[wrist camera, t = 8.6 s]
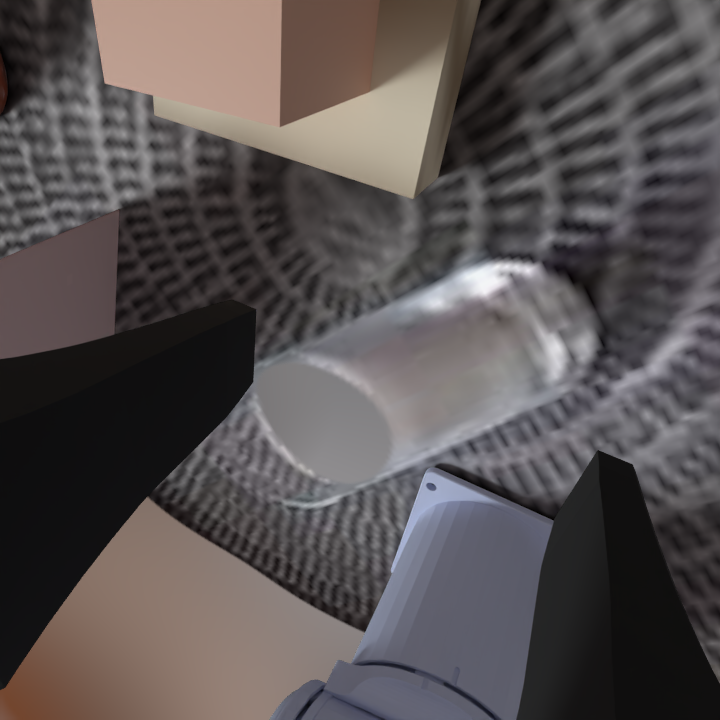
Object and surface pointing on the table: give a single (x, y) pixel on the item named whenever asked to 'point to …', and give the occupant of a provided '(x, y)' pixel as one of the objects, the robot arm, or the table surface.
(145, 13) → the terracotta cube
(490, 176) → the table surface
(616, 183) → the table surface
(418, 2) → the birch block
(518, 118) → the table surface
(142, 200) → the table surface
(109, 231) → the greeting card
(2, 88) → the supplement bottle
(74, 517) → the robot arm
